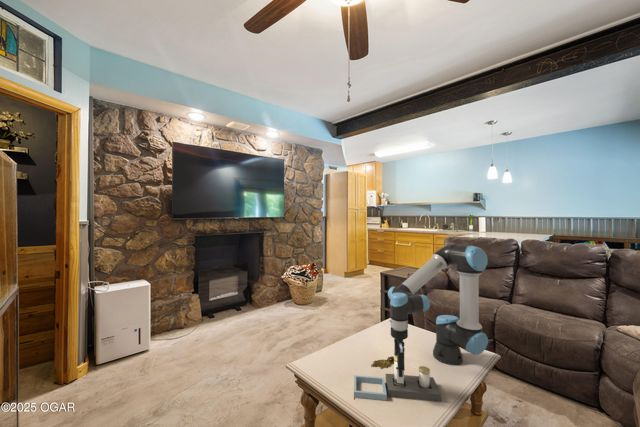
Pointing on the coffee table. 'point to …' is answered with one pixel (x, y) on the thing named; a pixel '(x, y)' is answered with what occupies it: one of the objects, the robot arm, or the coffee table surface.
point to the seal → (383, 363)
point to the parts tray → (370, 394)
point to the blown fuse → (396, 373)
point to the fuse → (424, 377)
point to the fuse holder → (412, 389)
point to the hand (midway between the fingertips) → (399, 378)
